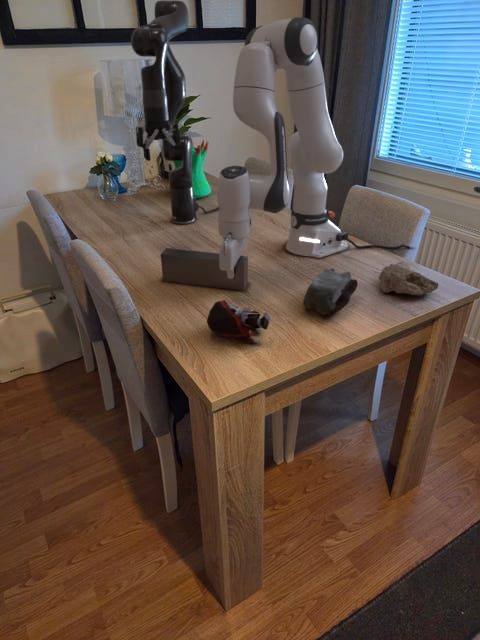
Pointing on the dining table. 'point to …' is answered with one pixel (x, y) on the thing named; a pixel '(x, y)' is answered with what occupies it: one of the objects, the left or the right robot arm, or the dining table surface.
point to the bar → (202, 269)
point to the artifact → (405, 280)
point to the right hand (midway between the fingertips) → (234, 271)
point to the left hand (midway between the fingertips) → (160, 158)
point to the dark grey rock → (330, 292)
